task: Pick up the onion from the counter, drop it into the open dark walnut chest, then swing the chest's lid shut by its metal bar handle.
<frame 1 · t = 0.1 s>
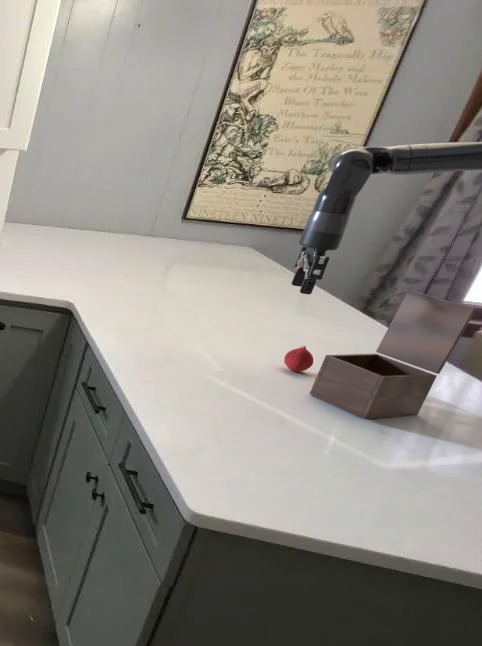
hand: (300, 289, 165), 23 cm above the countertop, tool pointing down, fingers open, 8 cm apart
chest: (361, 404, 155), on the countertop
lid: (429, 331, 150), point 19 cm above the countertop, hinge at 95.0°
onion: (293, 373, 172), on the countertop
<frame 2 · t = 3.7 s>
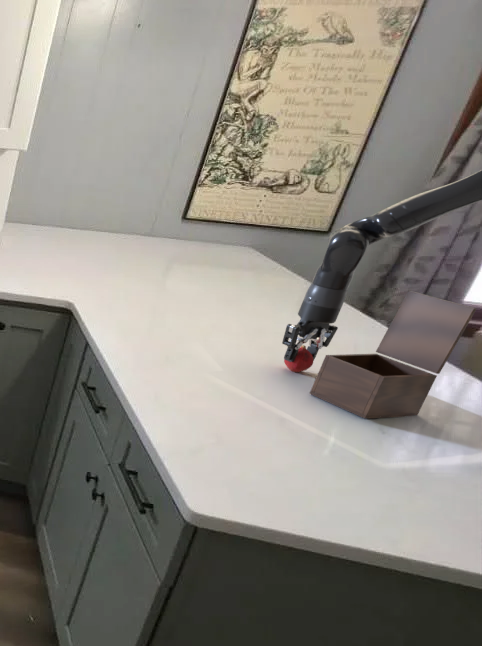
hand: (298, 360, 171), 4 cm above the countertop, tool pointing down, fingers closed on onion, 6 cm apart
onion: (293, 373, 172), on the countertop, touching gripper
everything else where it was.
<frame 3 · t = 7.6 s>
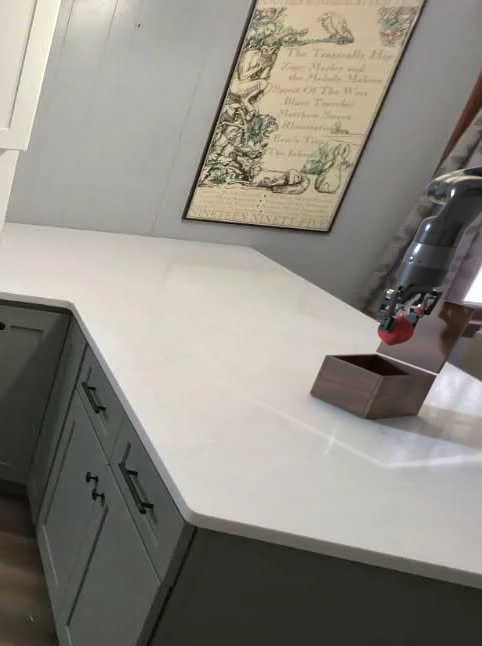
hand: (395, 331, 149), 20 cm above the countertop, tool pointing down, fingers closed on onion, 6 cm apart
onion: (388, 346, 150), point 16 cm above the countertop, touching gripper
everything else where it was.
when the fingers open (5 cm above the countertop, at t = 11.5 s): onion stays where it is, resting on chest.
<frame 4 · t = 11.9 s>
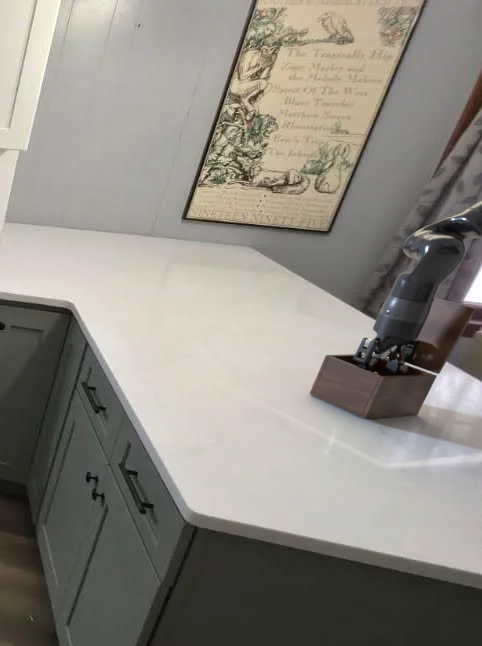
hand: (373, 378, 153), 7 cm above the countertop, tool pointing down, fingers open, 8 cm apart
onion: (363, 402, 155), point 1 cm above the countertop, touching chest
everything else where it was.
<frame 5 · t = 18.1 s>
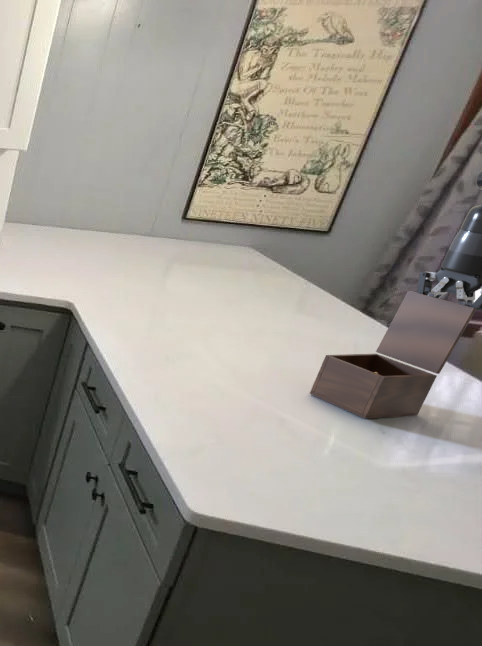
hand: (439, 320, 150), 22 cm above the countertop, tool pointing down, fingers closed on lid, 5 cm apart
lid: (429, 331, 150), point 19 cm above the countertop, hinge at 95.0°, touching gripper
everything else where it was.
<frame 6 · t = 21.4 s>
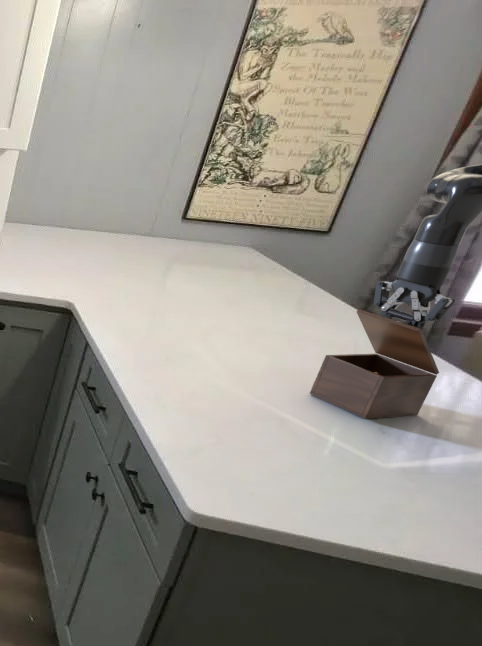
hand: (396, 330, 148), 20 cm above the countertop, tool pointing down, fingers closed on lid, 5 cm apart
lid: (404, 335, 149), point 18 cm above the countertop, hinge at 43.7°, touching gripper
everything else where it was.
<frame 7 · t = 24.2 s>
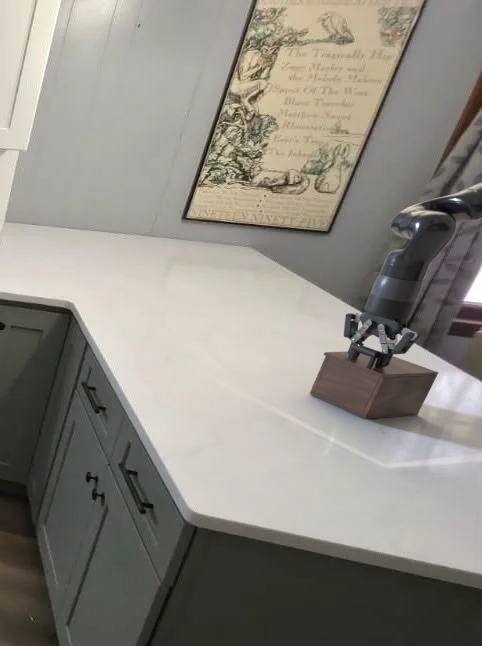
hand: (366, 361, 150), 12 cm above the countertop, tool pointing down, fingers closed on lid, 5 cm apart
lid: (382, 355, 151), point 13 cm above the countertop, hinge at -0.2°, touching chest, gripper
everything else where it was.
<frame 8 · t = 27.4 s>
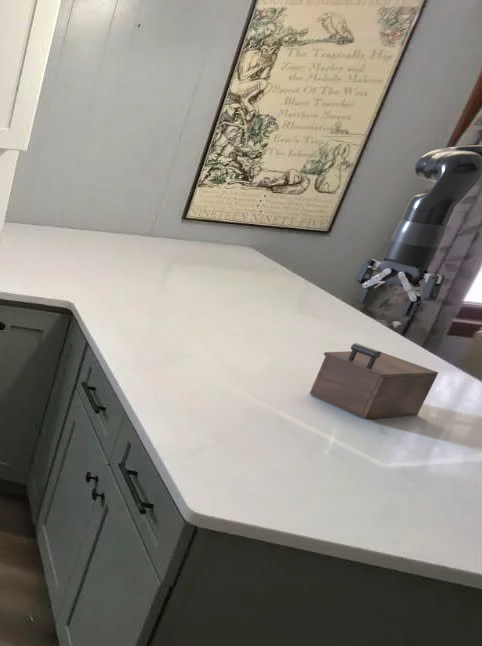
hand: (384, 309, 145), 25 cm above the countertop, tool pointing down, fingers open, 8 cm apart
lid: (382, 355, 151), point 13 cm above the countertop, hinge at -0.2°, touching chest
everything else where it was.
at the end: onion inside the target area in the chest (0.2 cm from its centre), point 0.6 cm above the chest's base; lid at +0° (first picture: +95°) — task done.
